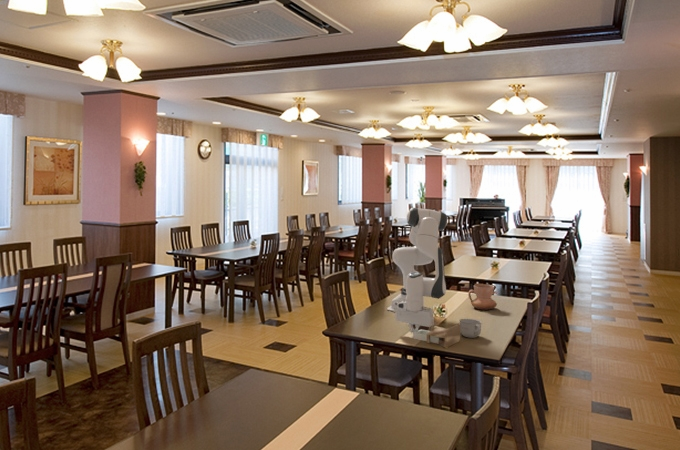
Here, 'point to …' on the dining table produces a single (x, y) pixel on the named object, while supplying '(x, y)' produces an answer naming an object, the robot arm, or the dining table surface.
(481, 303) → the ceramic jug
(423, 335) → the tray
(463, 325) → the teacup
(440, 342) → the tan notched block
